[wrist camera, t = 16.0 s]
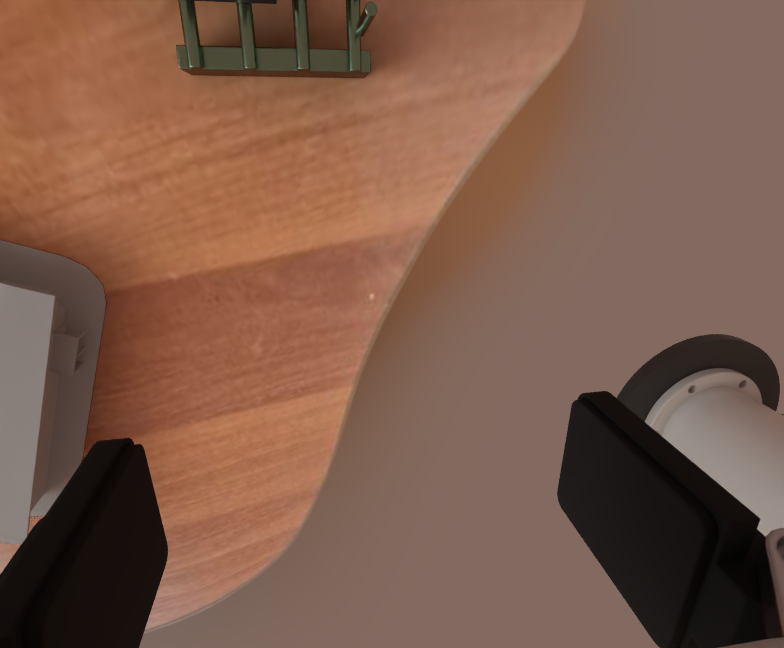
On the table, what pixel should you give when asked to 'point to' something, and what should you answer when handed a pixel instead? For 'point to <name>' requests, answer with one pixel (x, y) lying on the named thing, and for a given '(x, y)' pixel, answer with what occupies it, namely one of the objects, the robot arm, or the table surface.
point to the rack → (276, 59)
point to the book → (43, 378)
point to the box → (244, 1)
